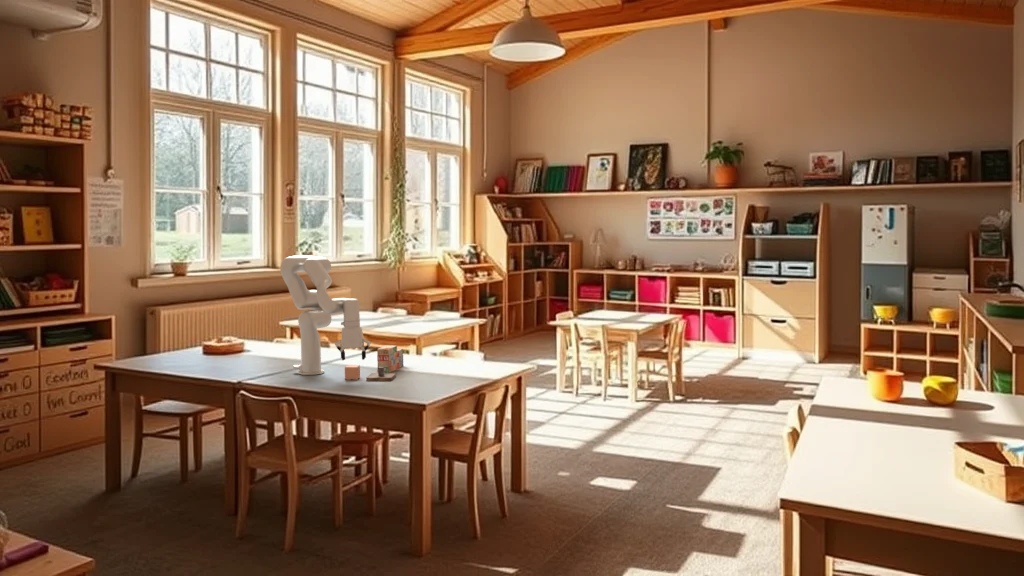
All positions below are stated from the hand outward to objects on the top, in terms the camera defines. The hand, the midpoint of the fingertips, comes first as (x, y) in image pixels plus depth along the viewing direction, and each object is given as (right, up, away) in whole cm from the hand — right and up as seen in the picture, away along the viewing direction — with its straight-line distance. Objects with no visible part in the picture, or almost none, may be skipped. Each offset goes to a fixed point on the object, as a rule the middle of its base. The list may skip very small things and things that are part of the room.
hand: (353, 359), depth 396 cm
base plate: (+13, -9, +1) cm, 16 cm away
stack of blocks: (+14, -8, +27) cm, 31 cm away
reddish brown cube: (-1, -9, +1) cm, 9 cm away
